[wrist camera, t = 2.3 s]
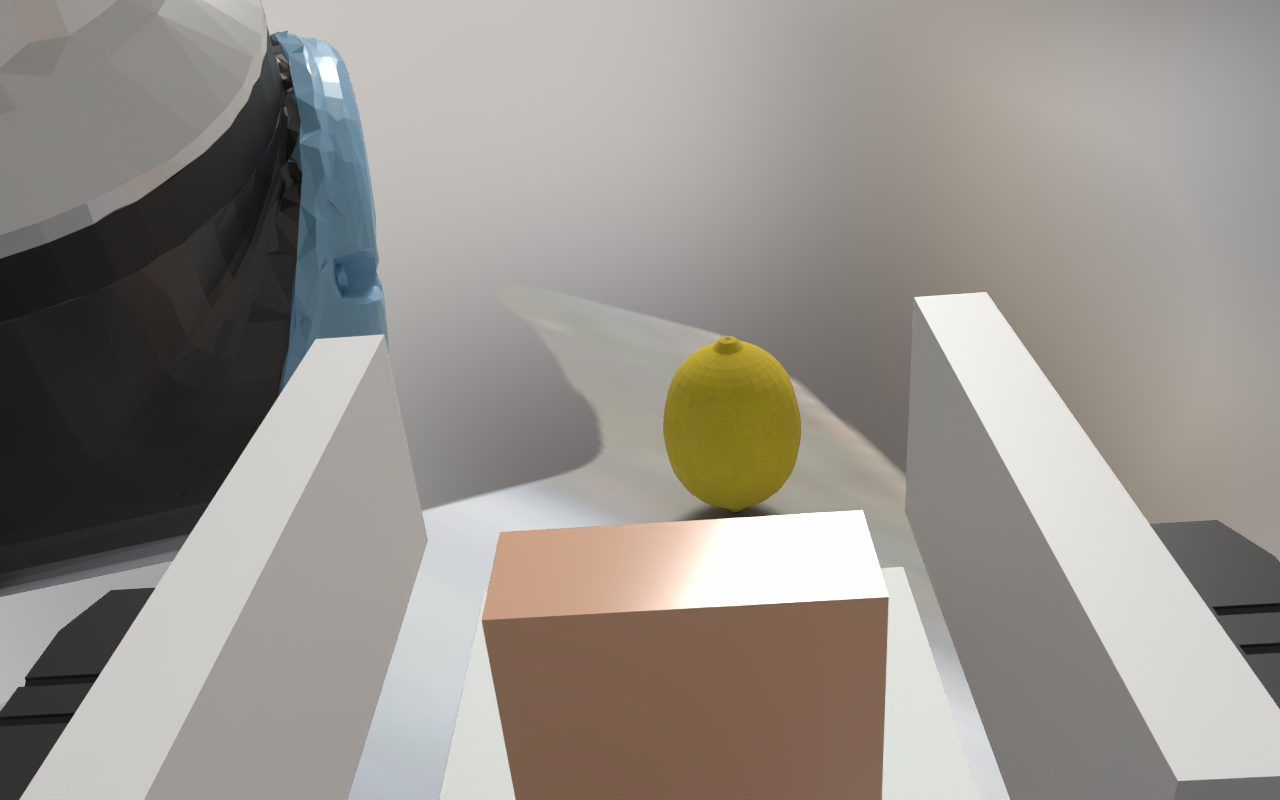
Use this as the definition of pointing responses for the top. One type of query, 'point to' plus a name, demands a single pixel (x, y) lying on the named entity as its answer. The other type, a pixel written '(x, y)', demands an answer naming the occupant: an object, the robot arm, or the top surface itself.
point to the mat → (913, 728)
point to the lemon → (732, 424)
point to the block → (691, 659)
